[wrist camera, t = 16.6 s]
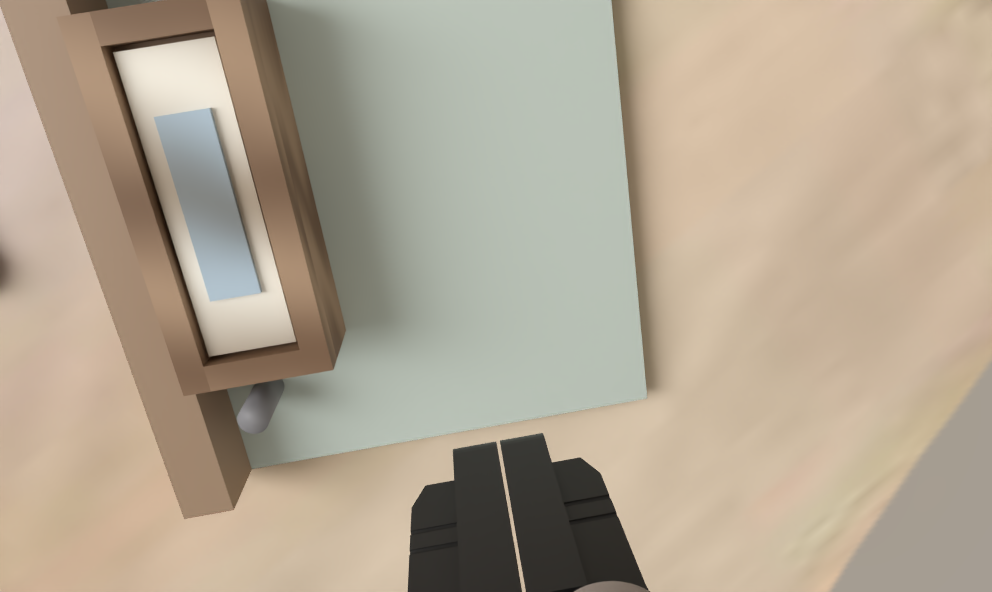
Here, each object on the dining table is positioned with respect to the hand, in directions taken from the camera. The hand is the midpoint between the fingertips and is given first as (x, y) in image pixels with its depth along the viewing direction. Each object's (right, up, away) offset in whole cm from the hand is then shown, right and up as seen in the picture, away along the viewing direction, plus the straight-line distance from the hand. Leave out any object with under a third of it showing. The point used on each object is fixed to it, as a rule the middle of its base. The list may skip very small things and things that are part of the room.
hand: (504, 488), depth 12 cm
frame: (-10, +7, +16) cm, 20 cm away
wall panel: (-5, +8, +17) cm, 19 cm away
